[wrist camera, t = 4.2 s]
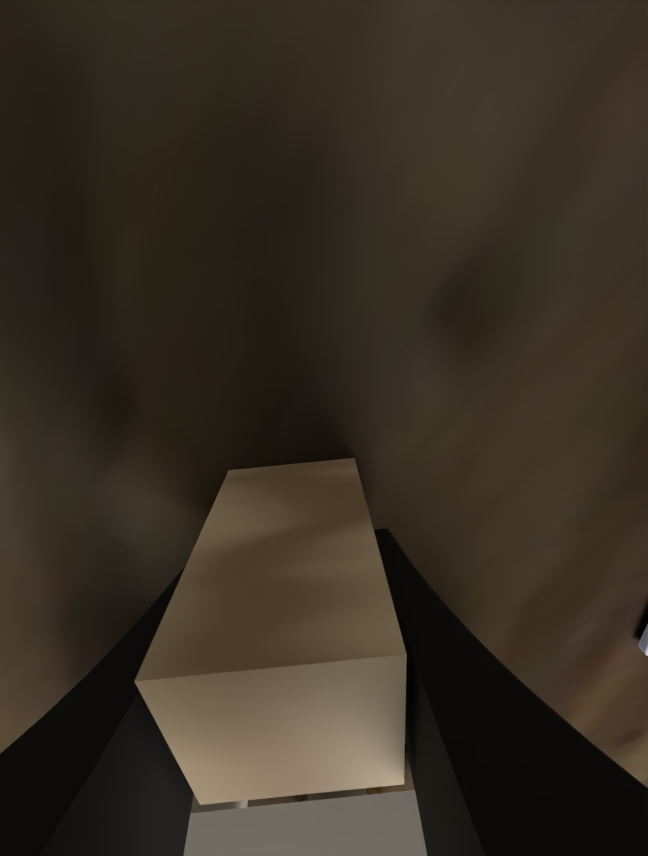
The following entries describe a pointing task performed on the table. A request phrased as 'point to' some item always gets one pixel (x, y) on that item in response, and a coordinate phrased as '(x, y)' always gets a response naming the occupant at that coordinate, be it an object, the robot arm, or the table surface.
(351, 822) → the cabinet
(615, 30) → the table surface
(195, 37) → the table surface
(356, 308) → the table surface
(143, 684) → the wooden and grey bar
